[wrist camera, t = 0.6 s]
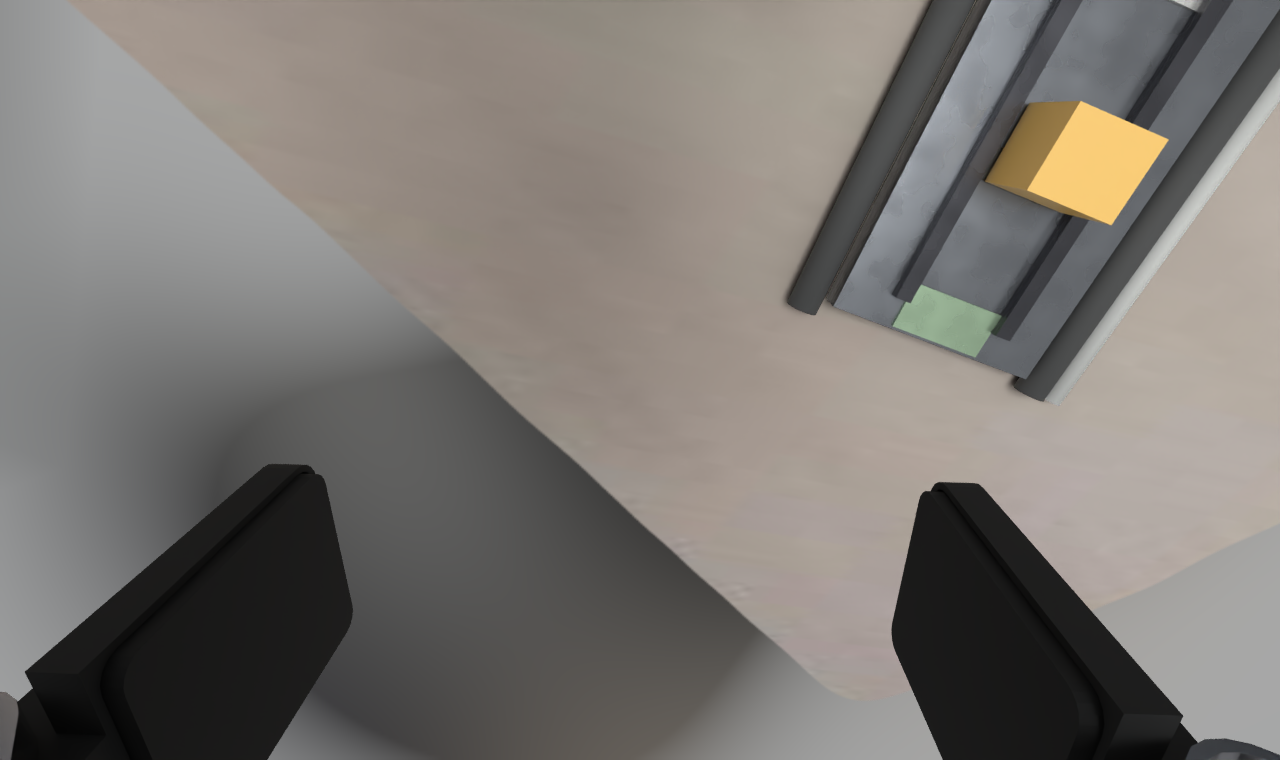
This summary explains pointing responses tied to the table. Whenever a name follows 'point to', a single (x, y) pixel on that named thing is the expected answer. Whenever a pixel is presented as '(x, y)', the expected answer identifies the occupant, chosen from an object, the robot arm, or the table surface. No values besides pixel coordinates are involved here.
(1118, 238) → the railed metal tray
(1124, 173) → the toggle
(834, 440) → the table surface
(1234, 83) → the pair of dark bars
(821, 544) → the table surface
